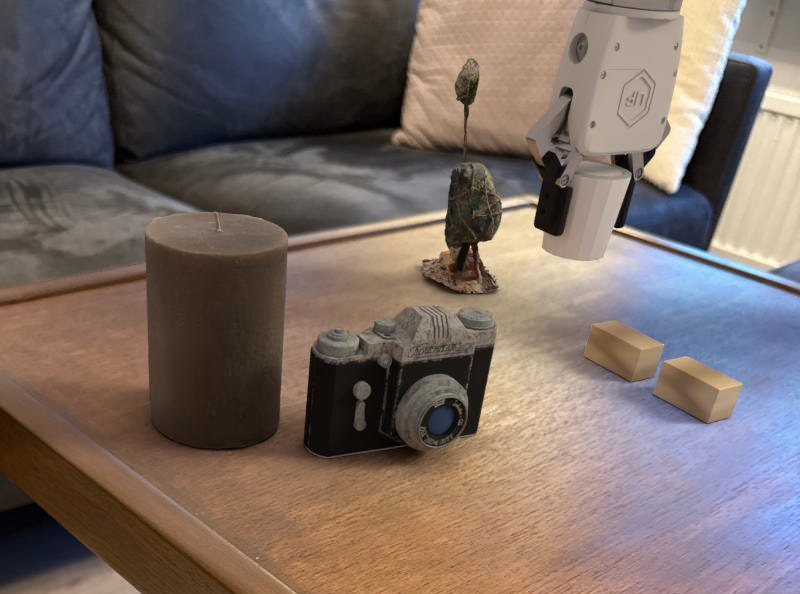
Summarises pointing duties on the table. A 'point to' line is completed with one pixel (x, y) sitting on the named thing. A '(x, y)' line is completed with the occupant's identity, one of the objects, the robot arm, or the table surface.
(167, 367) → the pillar candle
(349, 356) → the camera
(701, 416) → the bar
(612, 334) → the bar
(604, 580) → the table surface
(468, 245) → the plant with pod
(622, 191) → the white cup
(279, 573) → the table surface
